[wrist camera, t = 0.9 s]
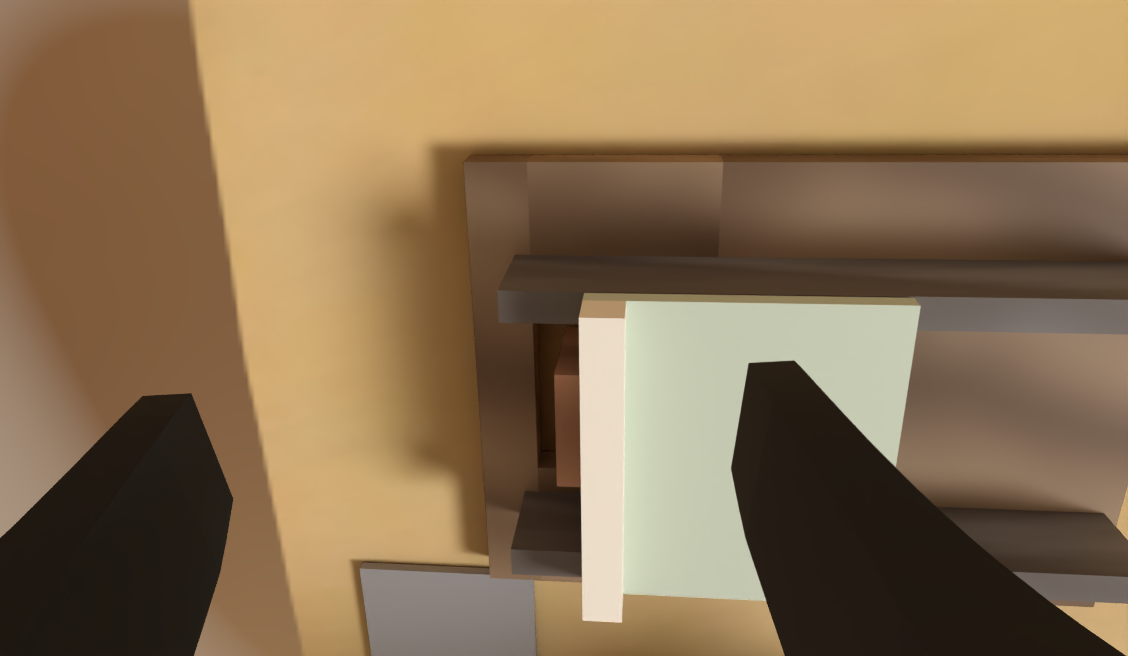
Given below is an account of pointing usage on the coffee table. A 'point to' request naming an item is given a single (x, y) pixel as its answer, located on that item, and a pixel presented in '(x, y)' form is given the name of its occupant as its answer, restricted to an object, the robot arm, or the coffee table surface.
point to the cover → (707, 424)
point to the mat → (446, 611)
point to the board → (840, 269)
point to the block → (568, 411)
